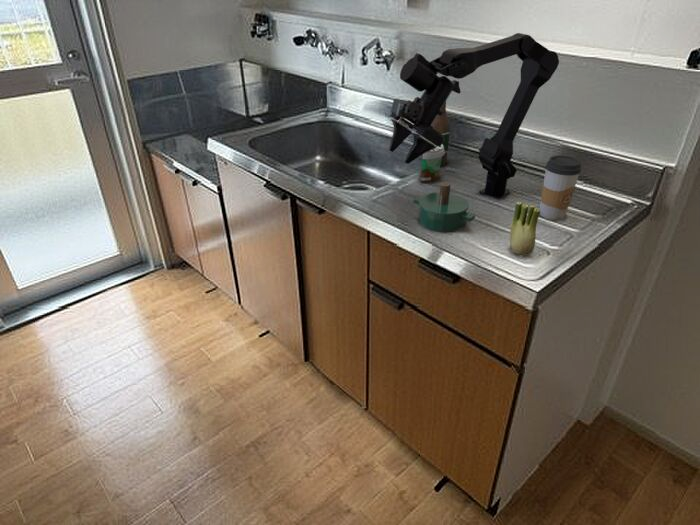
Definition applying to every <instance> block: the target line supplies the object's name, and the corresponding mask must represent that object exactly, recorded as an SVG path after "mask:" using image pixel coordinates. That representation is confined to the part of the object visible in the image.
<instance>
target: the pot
mask: <svg viewBox="0 0 700 525" xmlns="http://www.w3.org/2000/svg"><path fill="white" fill-rule="evenodd" d="M421 197H422V196H417V197H415V198H413V200H412V203H413V204H416V205H419V200H420V198H421ZM475 218H476V214H473V213H470V212H467V210H466V211H465V212H463V213H461V214H457V215H438V214H433V213H430V212H427V211H425V210H424V209H422V208H421V207H420V206H419V217H418V220H419V224H420V225H421V226H423V227H424V228H425V229H427V230H429V231H433V232H440V233H451V232H455V231H459V230H461V229H462V228H464V226H465V222H468V223H471V222H472V221H473V220H475Z"/></svg>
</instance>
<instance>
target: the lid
mask: <svg viewBox="0 0 700 525" xmlns="http://www.w3.org/2000/svg"><path fill="white" fill-rule="evenodd" d="M451 187H452V186H451V183H450V182H446V181H445V182H444V181H443V182H441V183H440V189H439V192H432V193H427V194H424V195H422V196H420V197H421V198H420V200H419V204H418V206H419V208H420V207H421V208H422V209H424V210H425V211H427V212H430V213H433V214H438V215H457V214H461V213H463V212H465V211H466V212H467V211H468V209H469V206H470V203H469V201H468V200H467V199H466V198H465V197H463V196H461V195H458V194H455V193H451Z"/></svg>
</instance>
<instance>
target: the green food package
mask: <svg viewBox="0 0 700 525" xmlns="http://www.w3.org/2000/svg"><path fill="white" fill-rule="evenodd" d="M434 146H436V148H433V149H431V150H429V151H427V152H426V153H424V154H422V158H421V172H420V173H421V174H420V184H428V183H434V182H436V181H438V179H439V177H440V176H439V175H440V170H441V167H440V165H441V159H442V156H443V155H444V154H445V152H444V147H443V144H442V145H441V146H440V147H439V146H437V145H434Z"/></svg>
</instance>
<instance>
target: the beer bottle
mask: <svg viewBox="0 0 700 525" xmlns="http://www.w3.org/2000/svg"><path fill="white" fill-rule="evenodd" d="M440 111H442V112H443V113H442V115H441V116H440V115H437V116H436V118H435V119H434V121H433V123H432V124H431V126H432V127H434V128H433V129H434V130H436V131H438V132H439V133H441V134H442V135H444V142H443V143H442V144H443V147H444V152H445V154H444V155H443V156H442V159H441V165H440V168H441V167H444V166H446V165H447V160H448V151H449V150H448V149H449V140H450V133H451V132H450V131H451V130H450V129H451V123H450V119H449V117H448V115H447V101H446V102H445V103H444V105H443V106H442V108H441V110H440Z"/></svg>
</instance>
